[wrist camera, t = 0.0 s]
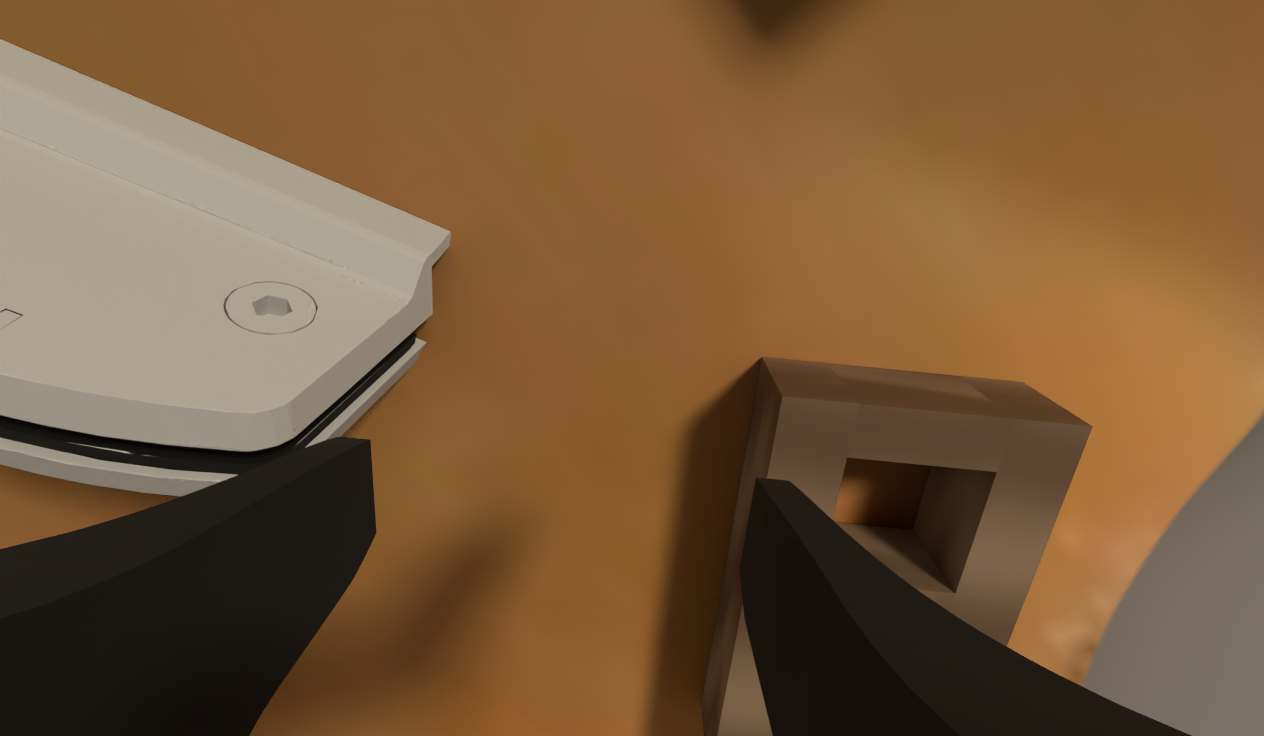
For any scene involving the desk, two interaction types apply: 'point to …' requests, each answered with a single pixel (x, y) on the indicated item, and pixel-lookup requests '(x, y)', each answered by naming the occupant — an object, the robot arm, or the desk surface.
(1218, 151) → the desk surface
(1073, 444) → the hole block
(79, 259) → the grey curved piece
